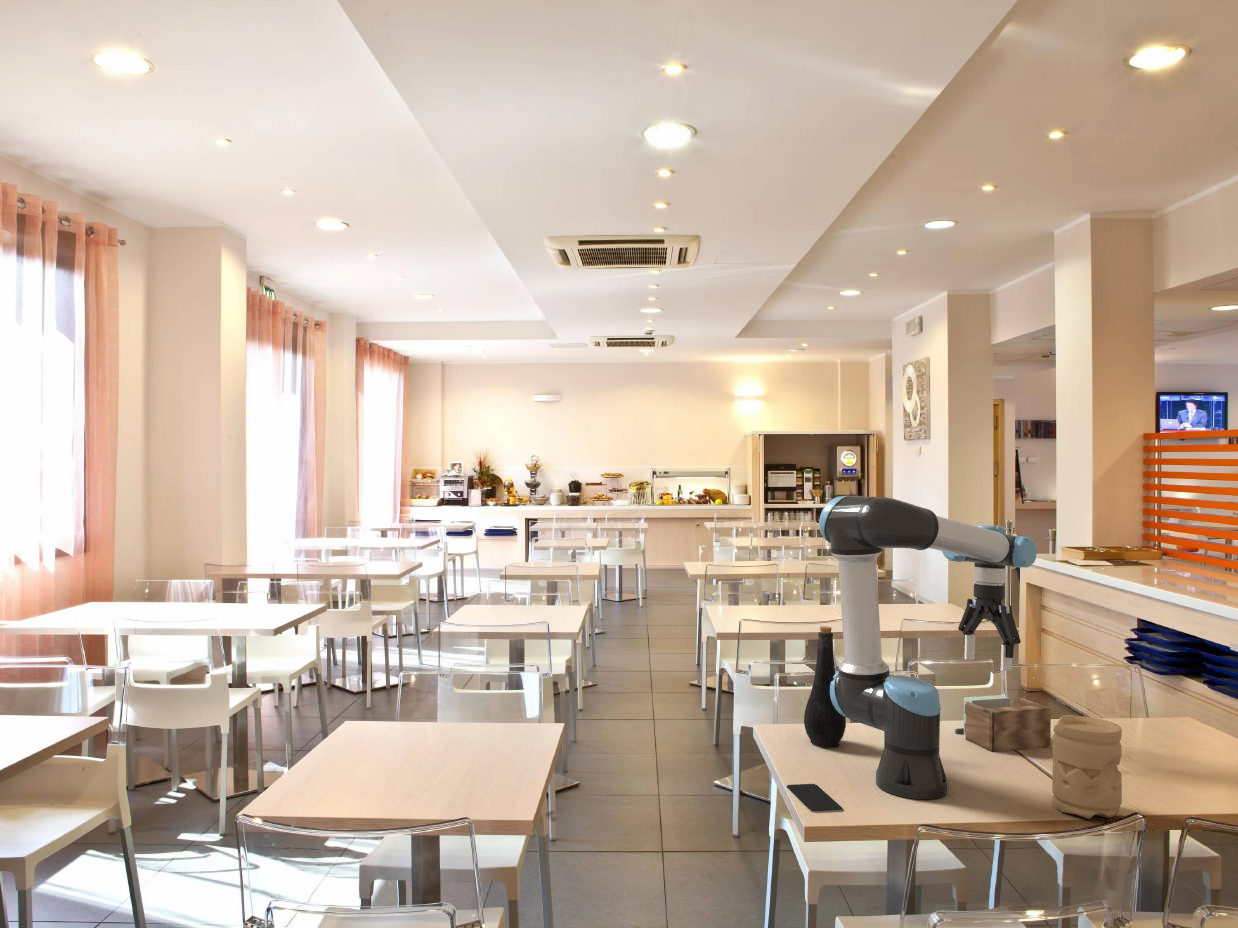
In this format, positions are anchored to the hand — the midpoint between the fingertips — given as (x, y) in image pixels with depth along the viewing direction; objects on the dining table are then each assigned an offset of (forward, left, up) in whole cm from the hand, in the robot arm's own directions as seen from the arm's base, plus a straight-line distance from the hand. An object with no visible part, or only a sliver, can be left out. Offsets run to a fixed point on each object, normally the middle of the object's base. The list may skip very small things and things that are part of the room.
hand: (987, 664), depth 216 cm
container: (-11, -43, -21) cm, 49 cm away
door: (+5, +6, -21) cm, 22 cm away
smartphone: (-64, -24, -21) cm, 71 cm away
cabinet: (+5, +1, -20) cm, 21 cm away
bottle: (-43, +9, -21) cm, 48 cm away
